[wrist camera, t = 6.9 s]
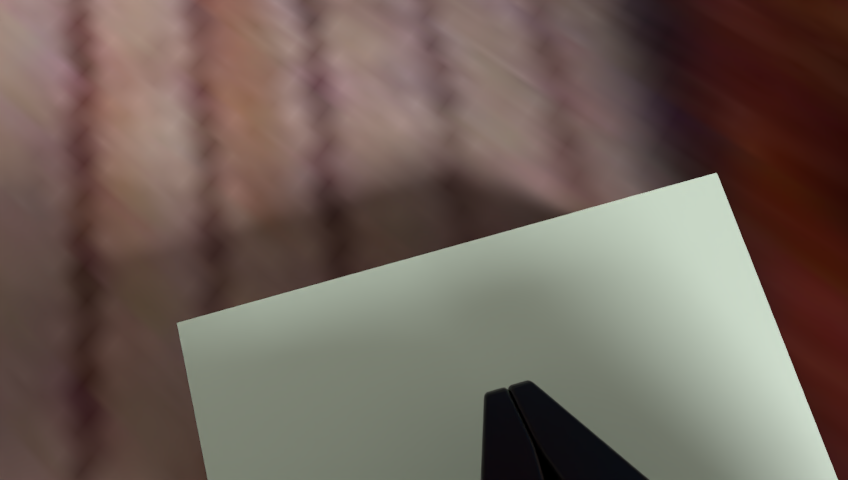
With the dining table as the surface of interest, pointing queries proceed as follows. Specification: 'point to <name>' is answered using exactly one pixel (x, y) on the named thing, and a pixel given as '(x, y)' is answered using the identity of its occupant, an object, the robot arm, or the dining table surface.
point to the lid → (515, 354)
